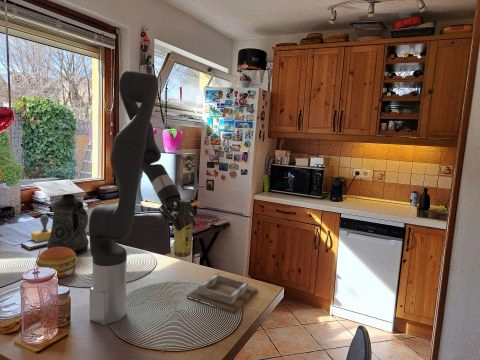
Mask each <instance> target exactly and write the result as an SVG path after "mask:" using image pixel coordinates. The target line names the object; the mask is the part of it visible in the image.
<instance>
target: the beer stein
mask: <svg viewBox="0 0 480 360" xmlns="http://www.w3.org/2000/svg"><path fill="white" fill-rule="evenodd" d="M51 209H52V211H53V215H52V224H51V228H50V229H51V235H50V238H49V240H47V243H46V248H47V249H49V248H53V247H67V248H69V249H72V250H73V251H74V252H75V254H76V255H80V254H83V253H85V252H87V250H88V247H89V244H90V240H89V239H88V236H87V232H86V228H87V227H88V225H89V216H88V212H87V211H86V209H85V208H84V204H83V202H82V201H81V200H79V199H78V198H77V197H76V195H75V194H73V193H72V194H67V193H66V194H63V195H62V197H60V199H58V200H57V201H55V202H54V203H53V204H52V205H51ZM82 252H83V253H82Z"/></svg>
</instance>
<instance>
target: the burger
mask: <svg viewBox="0 0 480 360" xmlns="http://www.w3.org/2000/svg"><path fill="white" fill-rule="evenodd" d="M76 255H77V254H75V252H74V251H73V250H72V249H69V248H67V247H53V248H49V249H48V248H47V249H45V250H43V251H42V252H41V253H40V254H39V255H38V257H39V259H38V257H37V259H38V261H37V259H36V267H37V266H39V267H49V268H53V269H55V270H56V271H57V277H58V278H57V279H61V278H65V277H68V276H69V275H71V274H73V273H74V272H75V269H76V268H77V263H78V259H77V256H76Z"/></svg>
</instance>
